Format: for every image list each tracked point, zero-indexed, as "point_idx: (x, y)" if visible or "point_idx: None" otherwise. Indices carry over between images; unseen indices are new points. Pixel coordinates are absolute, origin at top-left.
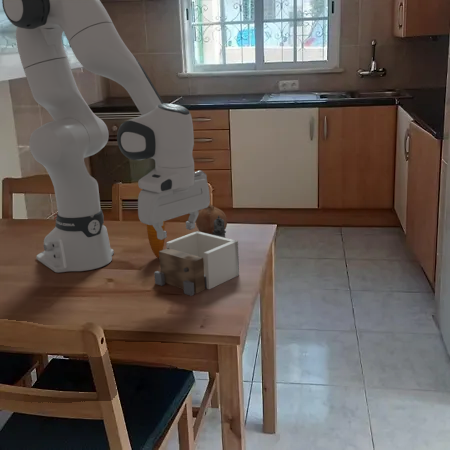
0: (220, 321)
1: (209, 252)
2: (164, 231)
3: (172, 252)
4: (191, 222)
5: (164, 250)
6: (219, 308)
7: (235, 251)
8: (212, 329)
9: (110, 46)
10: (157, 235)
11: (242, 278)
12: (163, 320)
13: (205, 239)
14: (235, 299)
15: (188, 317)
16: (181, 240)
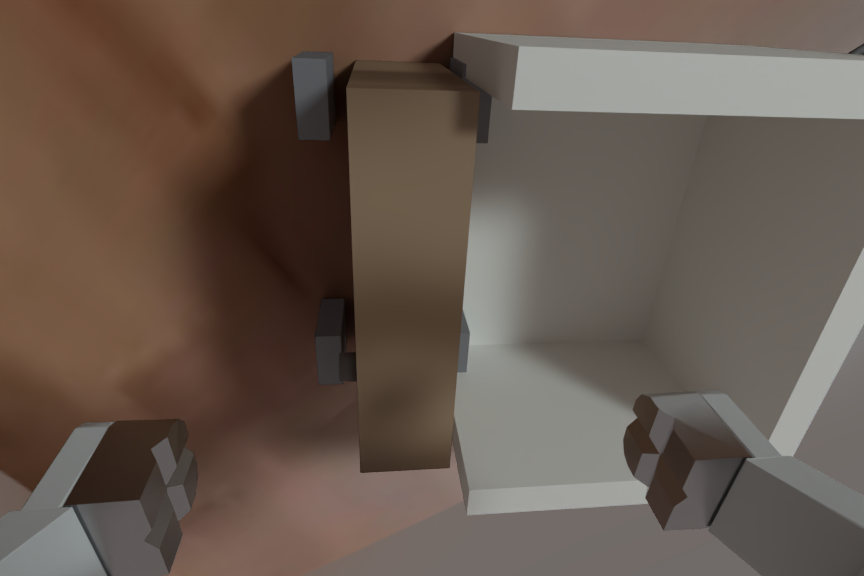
0: (242, 541)
1: (490, 511)
2: (136, 565)
3: (407, 227)
4: (697, 517)
5: (403, 118)
6: (316, 486)
7: None
8: (180, 557)
9: None
10: (62, 459)
11: None
12: (63, 418)
13: (832, 220)
14: (417, 478)
15: None
16: (686, 110)
